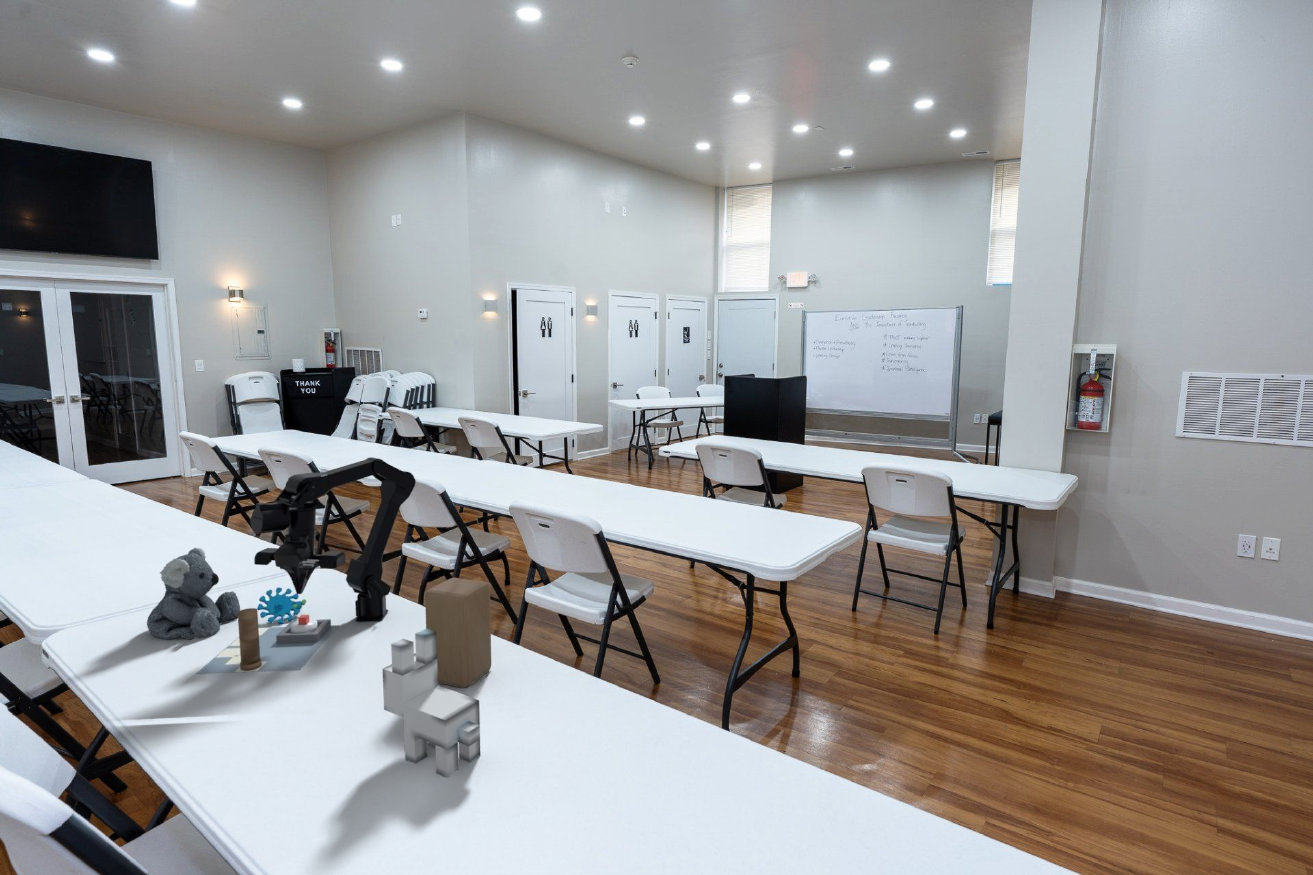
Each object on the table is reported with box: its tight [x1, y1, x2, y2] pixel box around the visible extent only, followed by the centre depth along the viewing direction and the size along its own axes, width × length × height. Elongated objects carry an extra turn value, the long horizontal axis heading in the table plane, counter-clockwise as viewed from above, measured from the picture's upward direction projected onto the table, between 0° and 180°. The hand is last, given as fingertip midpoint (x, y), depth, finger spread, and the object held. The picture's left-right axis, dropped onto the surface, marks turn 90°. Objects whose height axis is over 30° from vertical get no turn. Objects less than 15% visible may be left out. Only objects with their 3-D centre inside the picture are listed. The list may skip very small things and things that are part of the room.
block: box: [424, 577, 492, 689], centre depth 144 cm, size 10×10×20 cm
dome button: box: [291, 614, 318, 633], centre depth 162 cm, size 6×6×4 cm
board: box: [195, 618, 340, 675], centre depth 156 cm, size 21×24×3 cm
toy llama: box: [382, 628, 481, 779], centre depth 116 cm, size 8×18×20 cm, turn 60°
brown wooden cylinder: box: [237, 607, 262, 671], centre depth 146 cm, size 4×4×12 cm
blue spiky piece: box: [256, 586, 307, 625], centre depth 175 cm, size 11×6×10 cm
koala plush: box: [146, 547, 241, 640], centre depth 166 cm, size 17×18×20 cm
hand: (299, 593), depth 160 cm, fingers closed
